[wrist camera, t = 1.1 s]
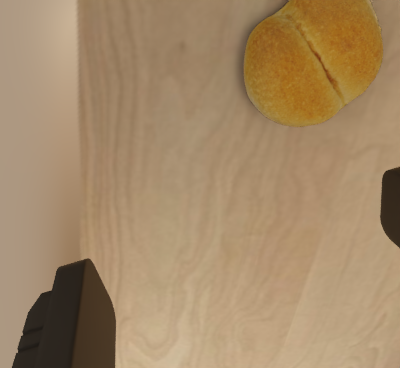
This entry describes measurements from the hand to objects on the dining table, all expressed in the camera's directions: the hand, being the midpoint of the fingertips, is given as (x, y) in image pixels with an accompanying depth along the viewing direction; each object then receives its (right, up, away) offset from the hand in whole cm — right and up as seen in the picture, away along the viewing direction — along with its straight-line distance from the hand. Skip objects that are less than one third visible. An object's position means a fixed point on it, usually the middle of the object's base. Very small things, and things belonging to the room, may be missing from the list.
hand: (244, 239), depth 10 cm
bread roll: (+6, +10, +15) cm, 19 cm away
